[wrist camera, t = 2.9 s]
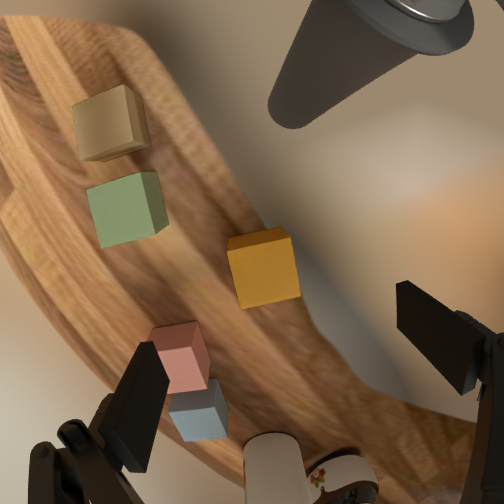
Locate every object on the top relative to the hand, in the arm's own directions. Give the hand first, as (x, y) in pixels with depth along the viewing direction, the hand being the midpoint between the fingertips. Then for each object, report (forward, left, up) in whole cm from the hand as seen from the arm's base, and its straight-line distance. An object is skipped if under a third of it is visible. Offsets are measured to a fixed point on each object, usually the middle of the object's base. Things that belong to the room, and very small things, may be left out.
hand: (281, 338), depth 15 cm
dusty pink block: (+10, +7, -14) cm, 19 cm away
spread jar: (-5, +38, -14) cm, 41 cm away
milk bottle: (+4, +27, -14) cm, 31 cm away
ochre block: (0, 0, -14) cm, 14 cm away
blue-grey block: (+10, +15, -14) cm, 23 cm away
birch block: (+10, -15, -14) cm, 23 cm away
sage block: (+10, -8, -14) cm, 19 cm away
